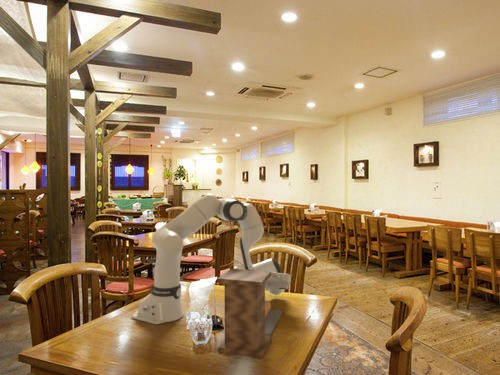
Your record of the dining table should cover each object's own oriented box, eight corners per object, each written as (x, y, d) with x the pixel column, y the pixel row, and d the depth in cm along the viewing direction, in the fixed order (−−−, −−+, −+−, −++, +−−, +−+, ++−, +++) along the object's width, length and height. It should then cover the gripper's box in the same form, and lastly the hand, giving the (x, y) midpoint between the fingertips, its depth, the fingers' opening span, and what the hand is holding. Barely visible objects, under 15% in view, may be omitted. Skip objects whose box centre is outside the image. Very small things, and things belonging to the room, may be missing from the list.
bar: (250, 328, 133) (250, 320, 133) (264, 308, 154) (264, 301, 154) (257, 328, 132) (257, 321, 132) (270, 308, 153) (270, 302, 153)
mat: (235, 332, 131) (235, 329, 131) (252, 310, 154) (252, 307, 154) (269, 336, 127) (269, 334, 127) (282, 313, 150) (282, 311, 150)
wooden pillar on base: (217, 351, 116) (217, 278, 116) (231, 334, 130) (231, 268, 130) (261, 358, 112) (261, 282, 111) (271, 339, 125) (270, 271, 125)
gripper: (251, 272, 165) (244, 264, 153) (292, 275, 159) (287, 267, 147) (249, 285, 162) (242, 278, 150) (291, 289, 156) (286, 282, 144)
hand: (265, 273), depth 149 cm, fingers open, 8 cm apart
